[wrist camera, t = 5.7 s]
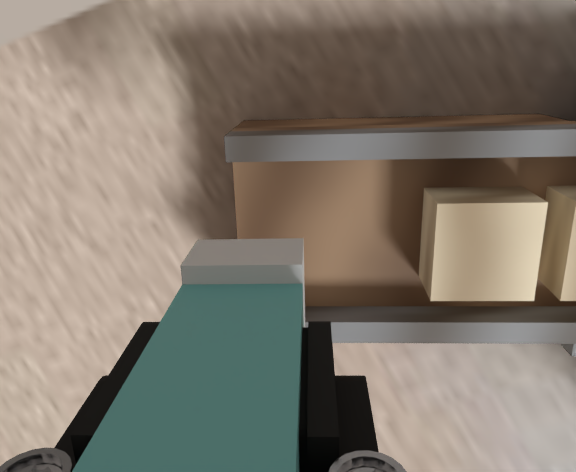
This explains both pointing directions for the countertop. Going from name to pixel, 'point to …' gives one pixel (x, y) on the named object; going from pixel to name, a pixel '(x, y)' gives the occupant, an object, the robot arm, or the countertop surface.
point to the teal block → (216, 369)
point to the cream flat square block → (481, 243)
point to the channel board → (395, 215)
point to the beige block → (559, 243)
